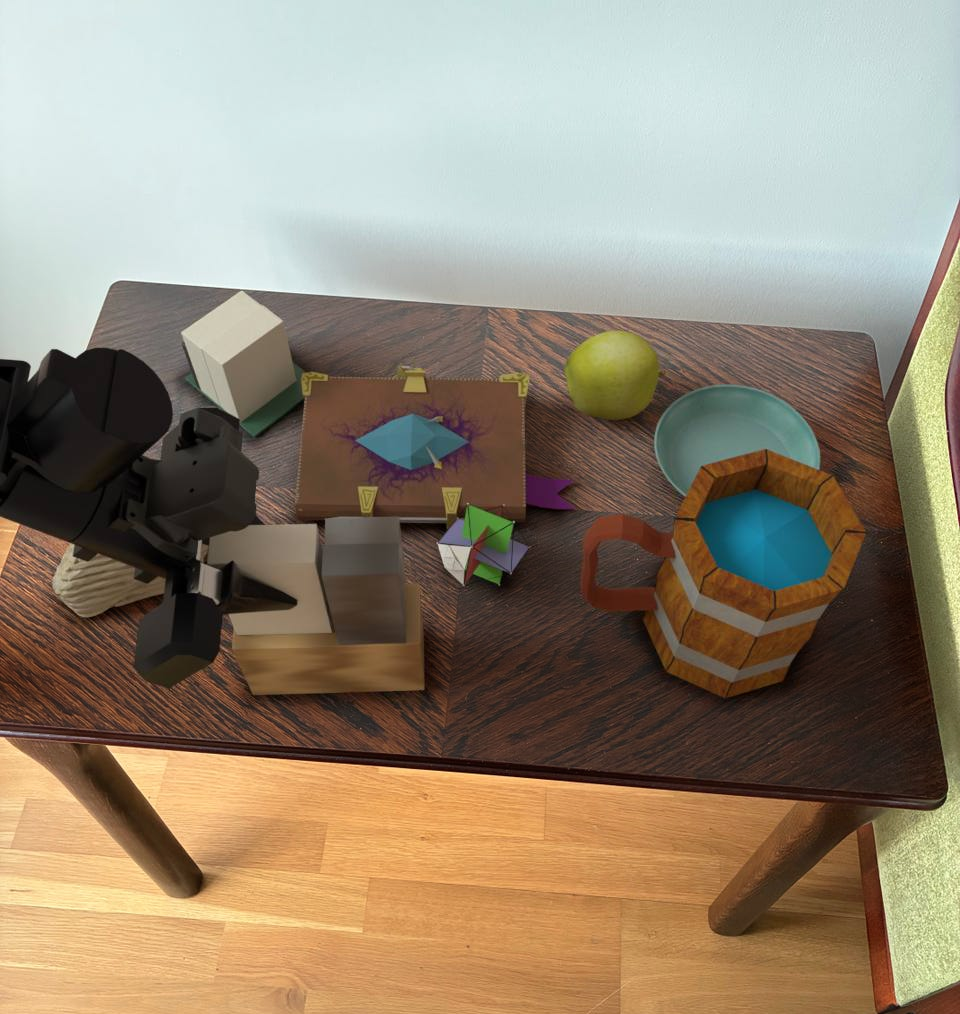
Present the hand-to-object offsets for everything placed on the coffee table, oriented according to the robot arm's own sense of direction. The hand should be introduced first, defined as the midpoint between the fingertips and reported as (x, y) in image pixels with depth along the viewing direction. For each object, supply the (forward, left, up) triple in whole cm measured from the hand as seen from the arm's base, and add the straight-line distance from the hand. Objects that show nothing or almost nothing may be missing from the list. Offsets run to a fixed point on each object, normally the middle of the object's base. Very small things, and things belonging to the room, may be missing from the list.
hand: (295, 584), depth 72 cm
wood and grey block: (+1, -1, -13) cm, 13 cm away
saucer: (+41, -3, -13) cm, 43 cm away
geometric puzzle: (+16, 0, -13) cm, 21 cm away
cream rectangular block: (-1, +1, -5) cm, 5 cm away
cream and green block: (+9, +29, -13) cm, 33 cm away
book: (+19, +12, -13) cm, 27 cm away
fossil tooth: (-8, +16, -13) cm, 22 cm away
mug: (+28, -14, -13) cm, 33 cm away
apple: (+36, +8, -13) cm, 39 cm away
